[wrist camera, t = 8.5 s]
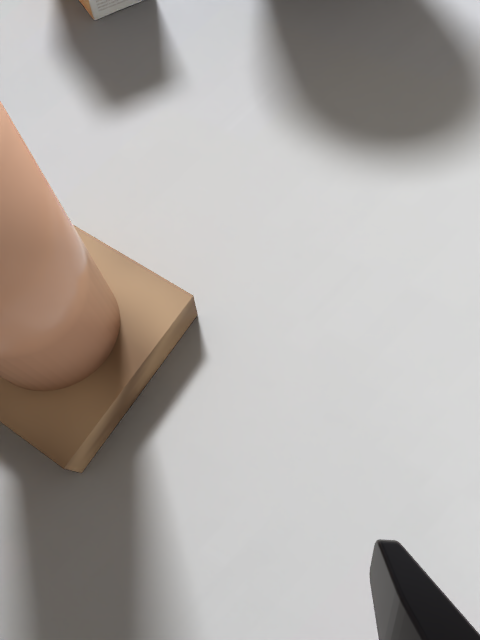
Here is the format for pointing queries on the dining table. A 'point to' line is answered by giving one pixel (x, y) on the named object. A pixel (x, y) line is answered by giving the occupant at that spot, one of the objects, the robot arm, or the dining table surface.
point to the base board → (104, 365)
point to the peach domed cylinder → (46, 281)
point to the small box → (105, 6)
